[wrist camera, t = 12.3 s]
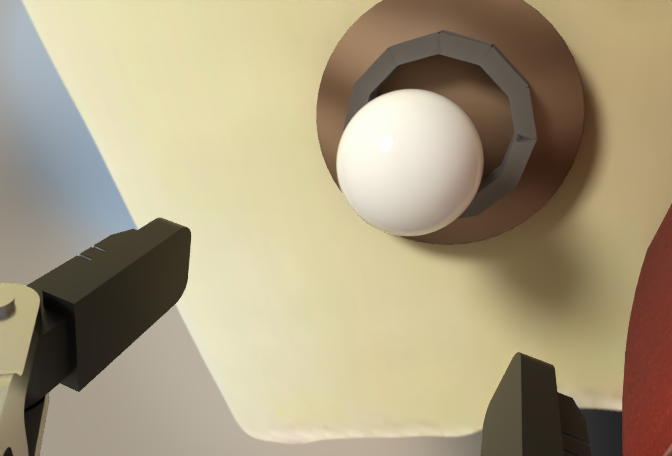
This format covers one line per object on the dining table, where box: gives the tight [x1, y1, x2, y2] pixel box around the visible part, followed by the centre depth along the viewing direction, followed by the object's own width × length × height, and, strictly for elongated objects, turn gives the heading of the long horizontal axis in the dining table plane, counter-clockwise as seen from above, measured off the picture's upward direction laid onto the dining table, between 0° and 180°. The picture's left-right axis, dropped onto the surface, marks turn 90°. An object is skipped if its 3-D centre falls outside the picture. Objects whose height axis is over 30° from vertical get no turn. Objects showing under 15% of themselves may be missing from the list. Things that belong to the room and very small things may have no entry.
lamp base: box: [317, 0, 584, 245], centre depth 29 cm, size 15×15×4 cm
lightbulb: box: [336, 89, 484, 236], centre depth 24 cm, size 6×6×11 cm
